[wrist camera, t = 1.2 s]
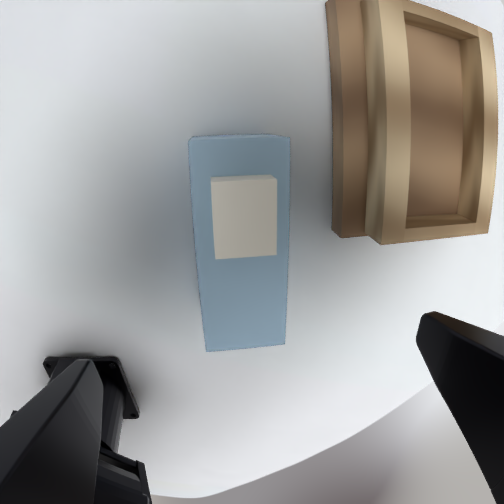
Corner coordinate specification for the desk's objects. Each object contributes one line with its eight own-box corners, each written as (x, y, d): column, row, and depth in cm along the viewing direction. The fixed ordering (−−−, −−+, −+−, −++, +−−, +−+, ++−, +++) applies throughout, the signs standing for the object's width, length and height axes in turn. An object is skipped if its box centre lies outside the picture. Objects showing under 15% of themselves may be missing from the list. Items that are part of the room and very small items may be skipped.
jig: (468, 219, 21) (499, 234, 18) (331, 229, 19) (356, 251, 16) (471, 40, 15) (504, 36, 12) (325, 2, 14) (349, -18, 11)
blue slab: (266, 296, 21) (290, 359, 15) (204, 301, 20) (207, 367, 15) (266, 133, 17) (298, 138, 11) (192, 136, 16) (186, 142, 11)
